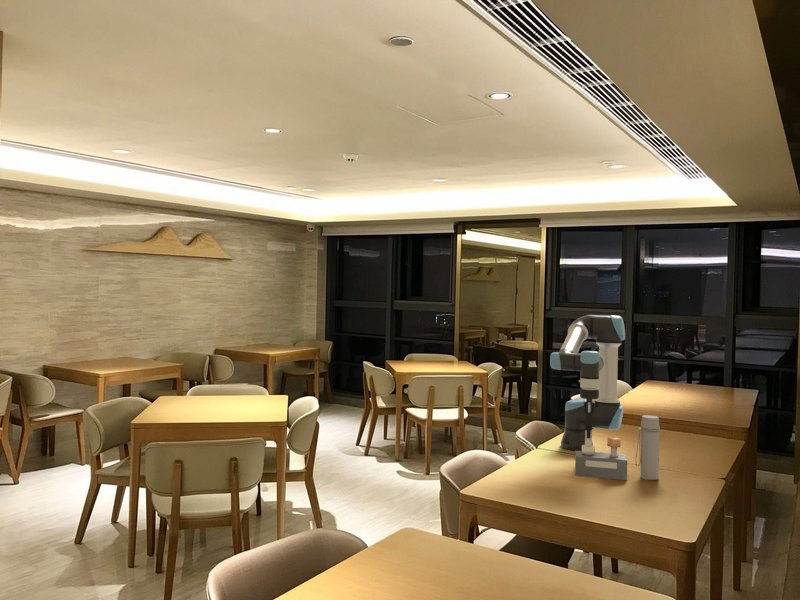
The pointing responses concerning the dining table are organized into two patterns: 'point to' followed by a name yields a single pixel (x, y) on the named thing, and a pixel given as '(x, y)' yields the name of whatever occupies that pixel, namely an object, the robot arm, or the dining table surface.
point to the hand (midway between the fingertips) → (588, 445)
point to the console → (601, 466)
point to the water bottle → (649, 447)
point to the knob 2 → (613, 445)
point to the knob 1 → (588, 450)
